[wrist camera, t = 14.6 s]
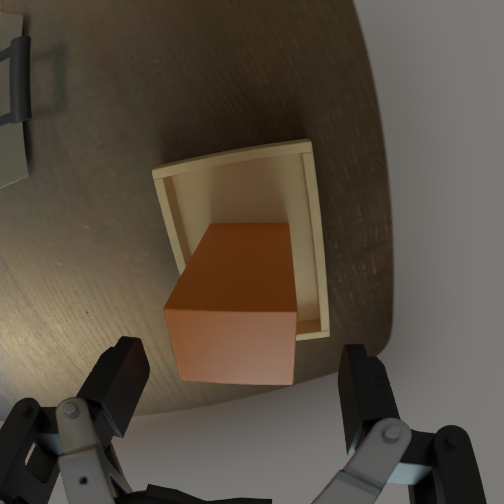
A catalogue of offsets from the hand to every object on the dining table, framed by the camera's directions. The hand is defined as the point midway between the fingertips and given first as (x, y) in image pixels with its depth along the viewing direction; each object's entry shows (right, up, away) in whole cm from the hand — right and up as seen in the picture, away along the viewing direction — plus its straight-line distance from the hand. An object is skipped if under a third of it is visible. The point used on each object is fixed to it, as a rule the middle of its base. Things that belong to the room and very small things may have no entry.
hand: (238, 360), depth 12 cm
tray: (0, +4, +9) cm, 10 cm away
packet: (0, +4, +9) cm, 10 cm away
